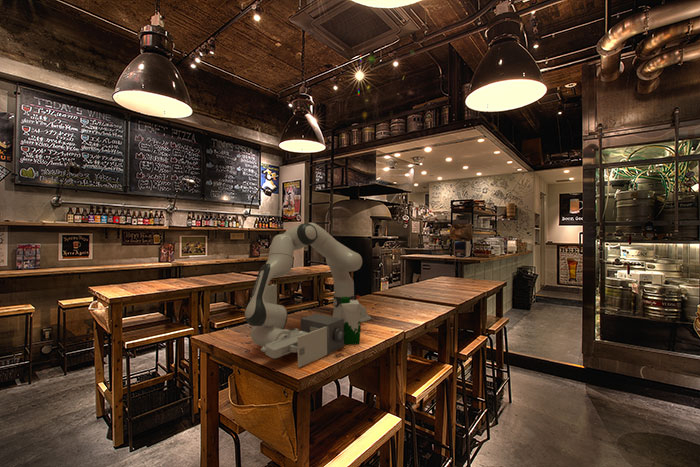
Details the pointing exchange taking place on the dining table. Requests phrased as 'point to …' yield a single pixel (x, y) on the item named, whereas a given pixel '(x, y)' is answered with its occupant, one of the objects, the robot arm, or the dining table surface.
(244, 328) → the dining table surface
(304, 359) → the side door
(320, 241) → the robot arm
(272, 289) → the paper towel roll
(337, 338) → the box
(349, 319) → the milk carton
